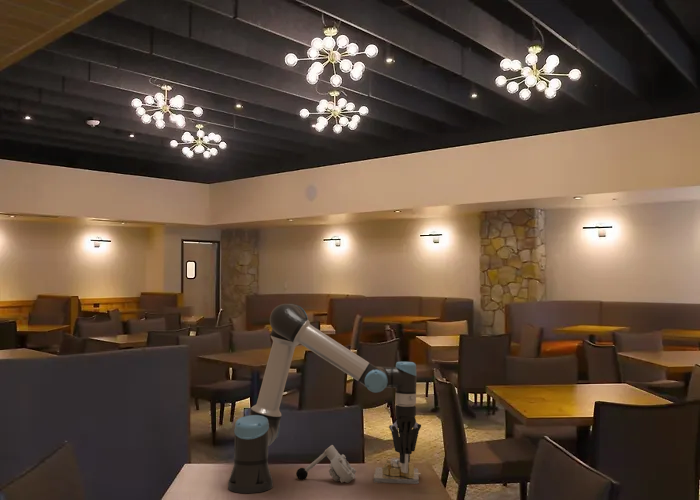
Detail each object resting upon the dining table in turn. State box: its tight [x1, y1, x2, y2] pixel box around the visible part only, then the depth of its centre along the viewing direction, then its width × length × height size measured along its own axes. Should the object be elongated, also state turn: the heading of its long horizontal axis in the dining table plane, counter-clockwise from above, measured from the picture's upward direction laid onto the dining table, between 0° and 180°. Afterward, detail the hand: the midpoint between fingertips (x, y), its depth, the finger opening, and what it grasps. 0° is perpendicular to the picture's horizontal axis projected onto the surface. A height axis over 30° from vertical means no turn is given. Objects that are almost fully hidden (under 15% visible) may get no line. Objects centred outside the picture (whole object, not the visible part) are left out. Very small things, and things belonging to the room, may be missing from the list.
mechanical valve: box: [295, 444, 357, 484], centre depth 219 cm, size 10×18×15 cm
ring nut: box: [381, 459, 415, 478], centre depth 223 cm, size 14×10×5 cm
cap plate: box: [373, 457, 421, 485], centre depth 224 cm, size 17×16×6 cm
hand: (404, 472), depth 217 cm, fingers closed
